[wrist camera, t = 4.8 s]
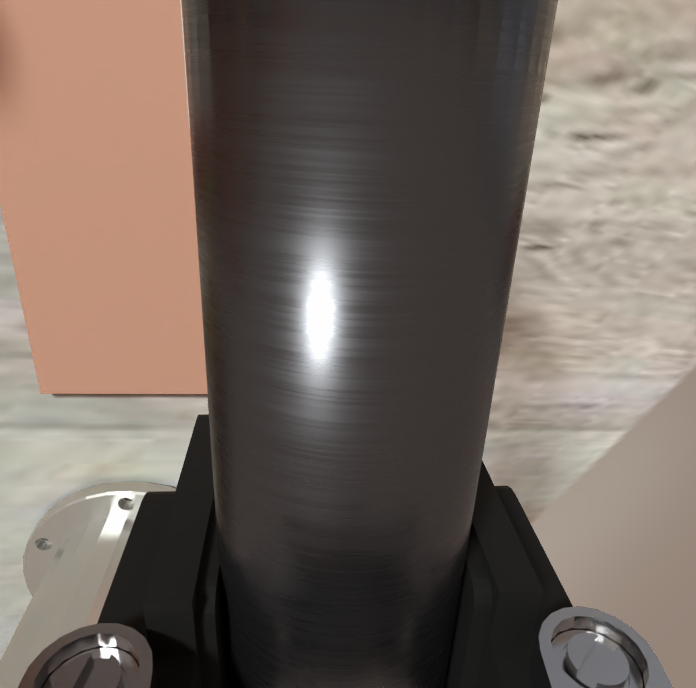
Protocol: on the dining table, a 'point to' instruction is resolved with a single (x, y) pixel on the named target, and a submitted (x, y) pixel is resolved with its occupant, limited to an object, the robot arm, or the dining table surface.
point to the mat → (101, 194)
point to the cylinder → (354, 313)
